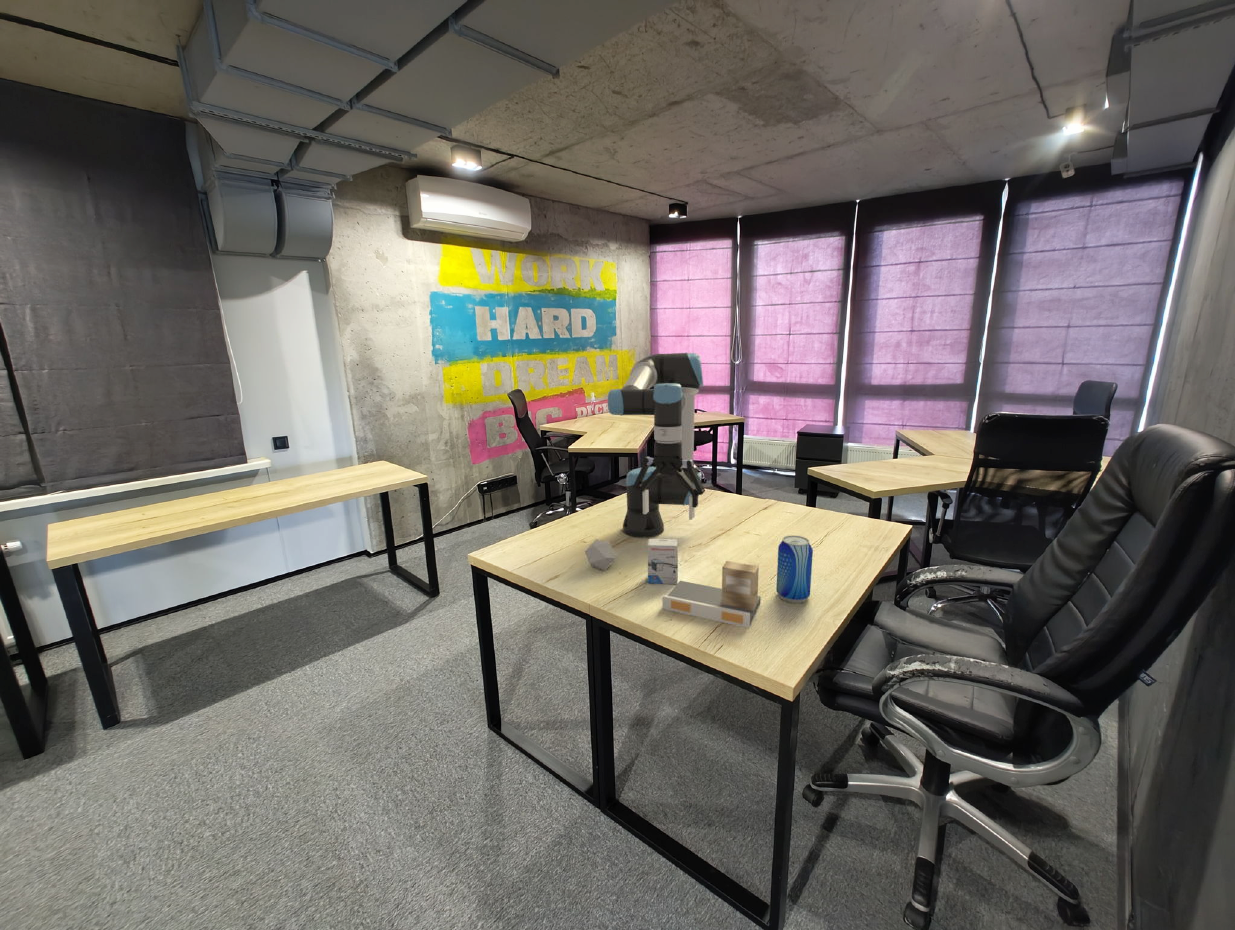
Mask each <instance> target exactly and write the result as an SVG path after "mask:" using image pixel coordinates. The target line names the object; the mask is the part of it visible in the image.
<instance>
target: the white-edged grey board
mask: <svg viewBox="0 0 1235 930" xmlns="http://www.w3.org/2000/svg"><path fill="white" fill-rule="evenodd" d="M661 597H662V598H661V599H662V600H661V601H662V603H661V604H662V609H663V610H667V611H669V612H670V611H671V612H674V613H675V612H676V613H680V614H685V615H689V616H693V617H697V618H703V619H707V620H711V621H716V622H720V623H724V624H728V625H733V626H738V627H742V628H746V629H750V627H751V624H752V623H753V620H754V618H755V616H756V614H757V611H758V609H759V607H760V606H761V599H762V597H761V595H758V598H757V605H756V607H755V609H754V611H753V610H748V609H744V608H739V607H734V606H729V605H724V604H722V587H721V588H720V587H716V586H709V585H705V584H699V583H694V582H689V581H684V580H678V583H677V584H675V586H674V587H673V588H672V590H671V591H670V592H669V593H668V594H667V595H666V594H663V595H662V596H661Z"/></svg>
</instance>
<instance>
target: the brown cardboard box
mask: <svg viewBox="0 0 1235 930" xmlns="http://www.w3.org/2000/svg"><path fill="white" fill-rule="evenodd" d="M759 567H760V566H759V565H753V564H746V563H741V562H736V561H729V560H726V561H725V562H724V564H723V565H722V569H721V570H722V571H721V572H722V573H721V575H722V576H721V589H722V604H724V605H729V606H734V607H739V608H744V609H748V610H753V611H754V609H755V607H756V605H757V598H758V596H759V595H758V593H759V570H760V569H759Z"/></svg>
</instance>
